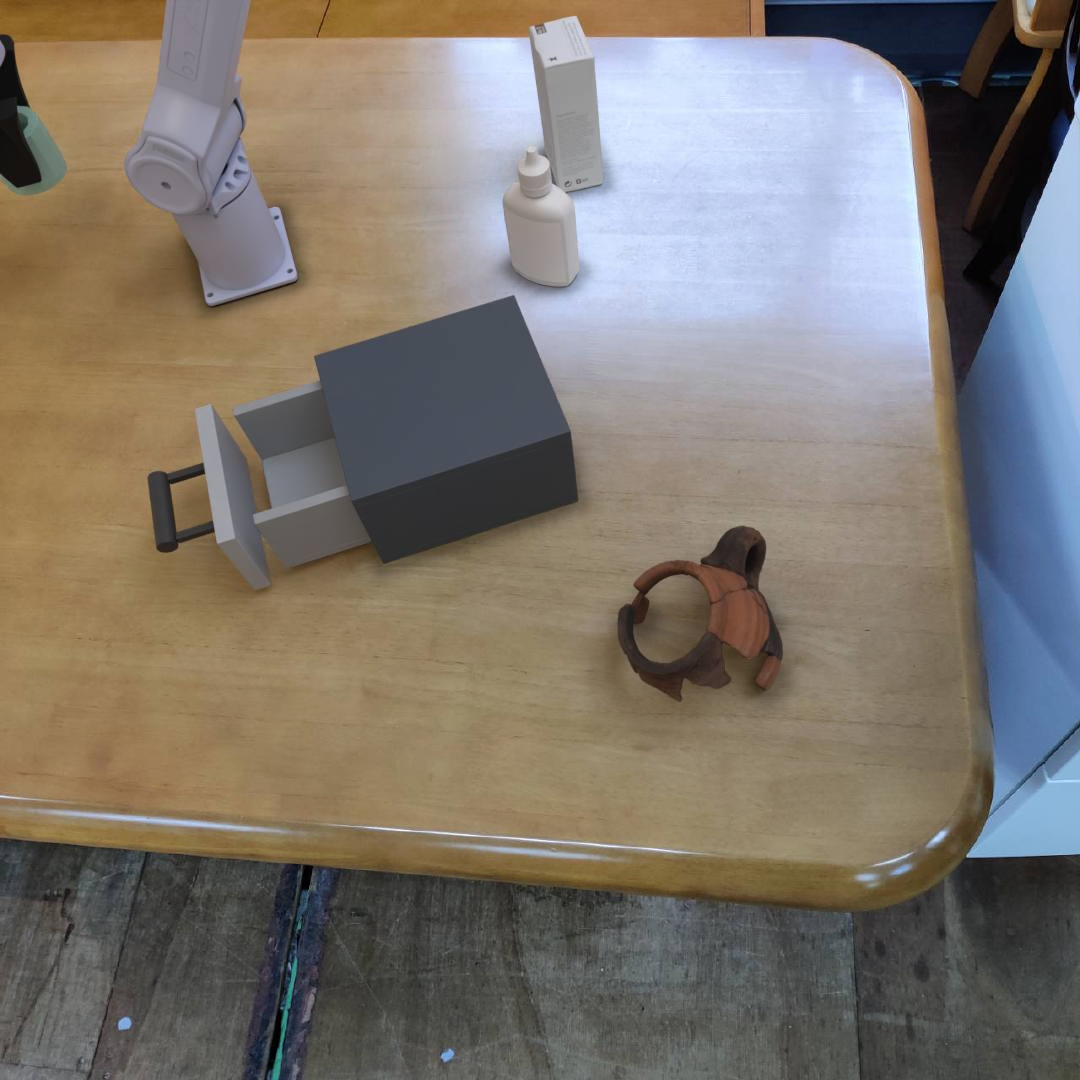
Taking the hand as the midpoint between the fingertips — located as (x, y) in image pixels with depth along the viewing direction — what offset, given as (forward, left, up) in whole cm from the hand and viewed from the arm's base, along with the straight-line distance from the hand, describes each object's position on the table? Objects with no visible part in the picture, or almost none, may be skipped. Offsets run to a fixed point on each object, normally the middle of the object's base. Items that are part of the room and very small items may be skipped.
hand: (27, 159), depth 76 cm
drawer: (+34, +13, -9) cm, 38 cm away
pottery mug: (+53, +37, -11) cm, 66 cm away
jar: (0, 0, -1) cm, 1 cm away
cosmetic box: (+7, +43, -11) cm, 45 cm away
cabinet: (+34, +25, -10) cm, 44 cm away
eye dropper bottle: (+18, +37, -11) cm, 43 cm away
